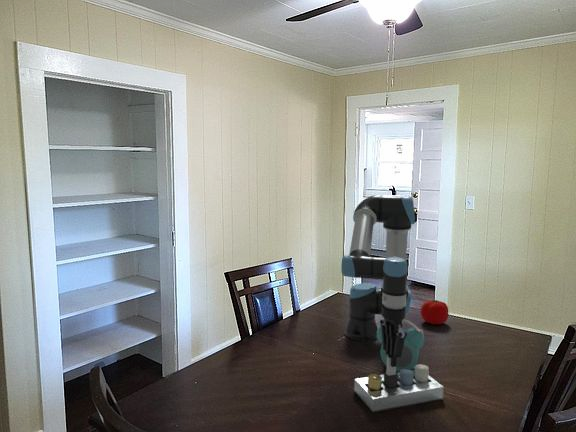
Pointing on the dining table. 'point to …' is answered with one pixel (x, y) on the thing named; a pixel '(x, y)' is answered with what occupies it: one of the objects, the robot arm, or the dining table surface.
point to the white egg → (421, 373)
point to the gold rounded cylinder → (374, 382)
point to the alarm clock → (405, 347)
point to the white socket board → (398, 393)
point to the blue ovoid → (406, 377)
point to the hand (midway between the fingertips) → (391, 374)
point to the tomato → (434, 312)
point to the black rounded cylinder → (390, 381)
